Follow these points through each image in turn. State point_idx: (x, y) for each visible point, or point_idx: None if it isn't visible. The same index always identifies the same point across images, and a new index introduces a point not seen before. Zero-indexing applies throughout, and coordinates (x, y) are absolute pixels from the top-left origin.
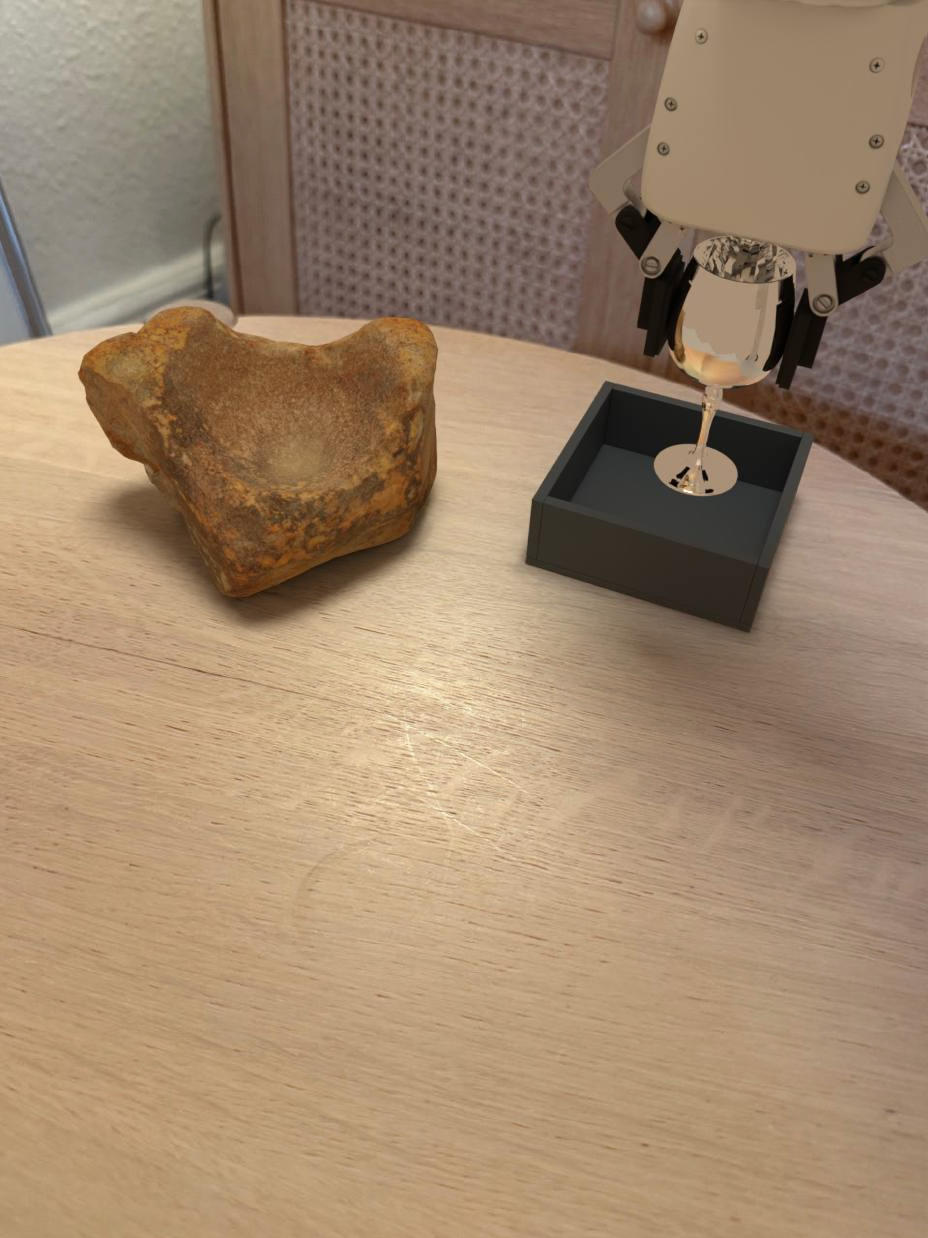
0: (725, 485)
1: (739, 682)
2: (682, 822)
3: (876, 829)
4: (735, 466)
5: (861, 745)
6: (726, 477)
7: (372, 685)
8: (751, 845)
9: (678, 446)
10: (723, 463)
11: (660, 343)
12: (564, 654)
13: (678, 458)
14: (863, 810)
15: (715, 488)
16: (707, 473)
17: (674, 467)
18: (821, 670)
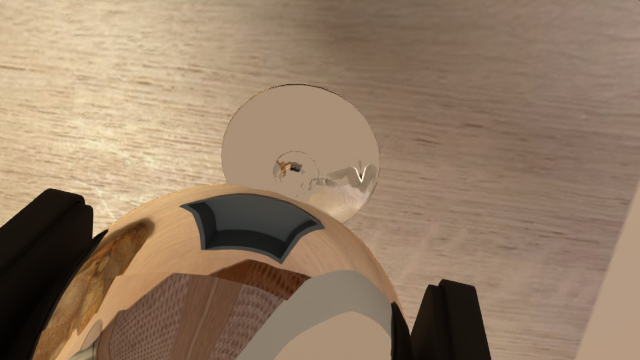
0: (355, 206)
1: (450, 67)
2: (379, 257)
3: (574, 240)
4: (376, 143)
5: (586, 139)
6: (356, 186)
7: (45, 146)
8: (444, 272)
9: (260, 104)
10: (350, 151)
11: None
12: (233, 61)
13: (260, 165)
14: (566, 221)
15: (337, 216)
16: (318, 198)
17: (257, 183)
18: (563, 25)
